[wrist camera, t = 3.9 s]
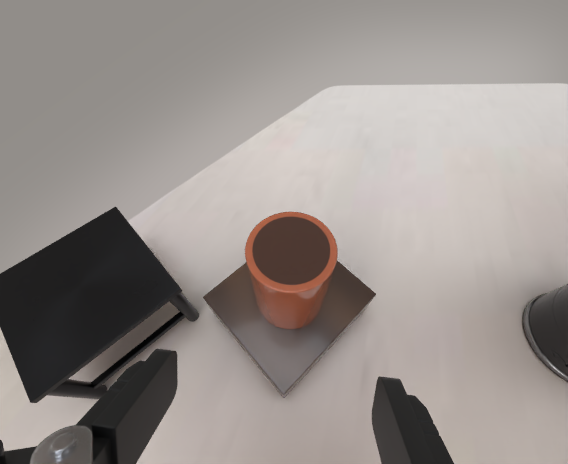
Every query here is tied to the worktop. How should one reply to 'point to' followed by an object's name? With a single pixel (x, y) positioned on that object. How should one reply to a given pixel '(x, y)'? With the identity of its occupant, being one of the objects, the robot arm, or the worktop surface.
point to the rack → (83, 305)
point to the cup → (290, 267)
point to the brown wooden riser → (287, 342)
